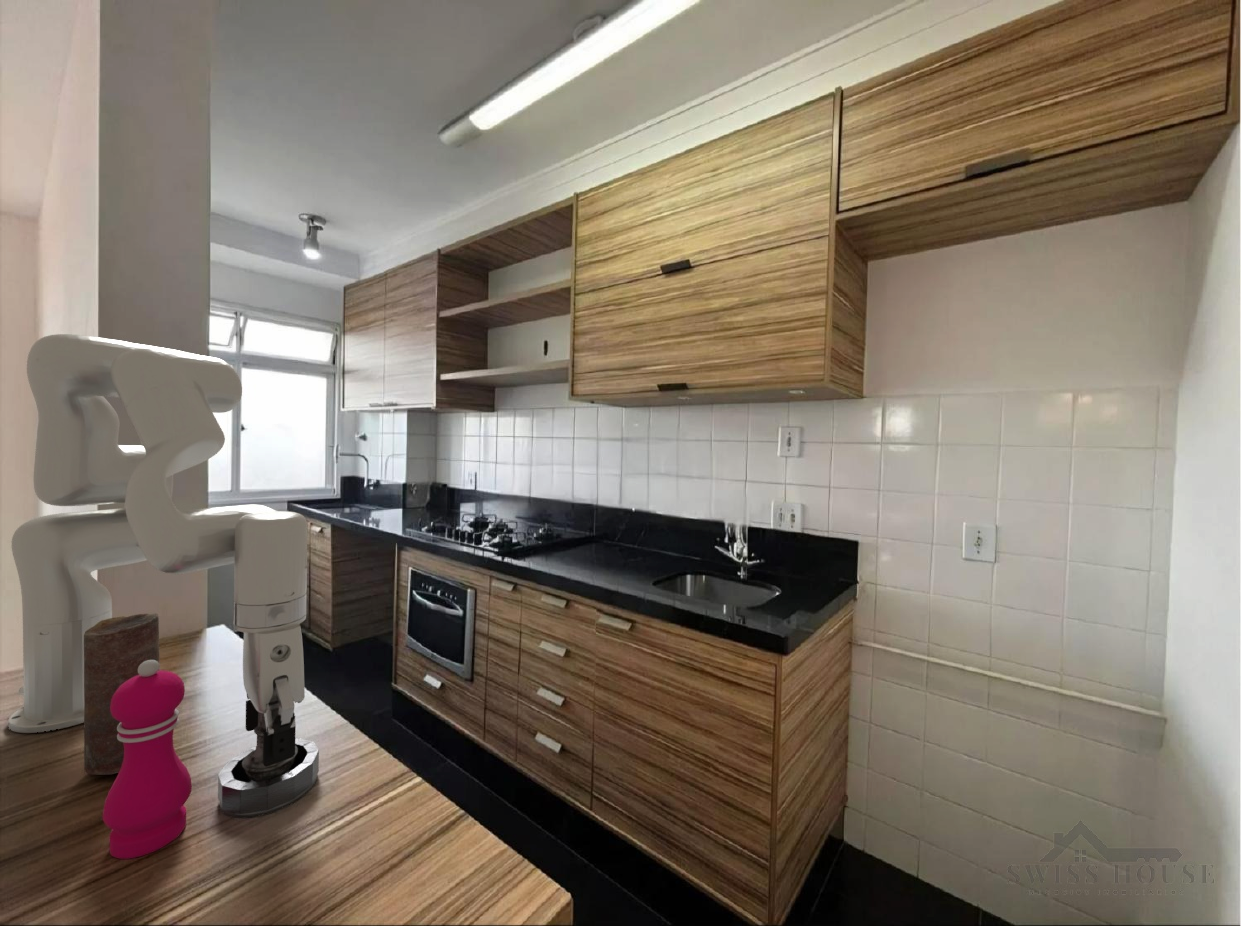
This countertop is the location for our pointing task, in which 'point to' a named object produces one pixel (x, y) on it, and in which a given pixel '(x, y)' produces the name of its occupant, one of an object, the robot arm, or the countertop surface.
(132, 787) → the pepper mill
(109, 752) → the candle
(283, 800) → the dark gray faceted bowl
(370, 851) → the countertop surface
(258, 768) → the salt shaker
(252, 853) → the countertop surface
